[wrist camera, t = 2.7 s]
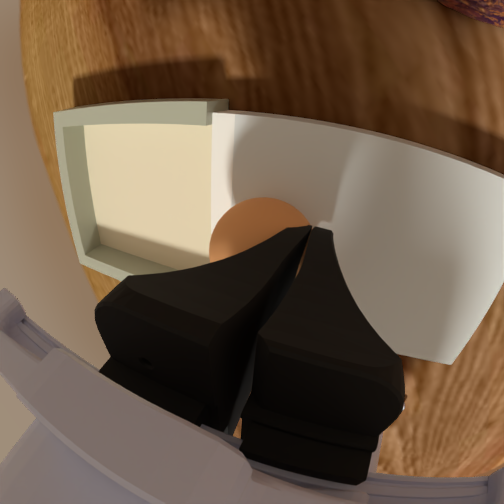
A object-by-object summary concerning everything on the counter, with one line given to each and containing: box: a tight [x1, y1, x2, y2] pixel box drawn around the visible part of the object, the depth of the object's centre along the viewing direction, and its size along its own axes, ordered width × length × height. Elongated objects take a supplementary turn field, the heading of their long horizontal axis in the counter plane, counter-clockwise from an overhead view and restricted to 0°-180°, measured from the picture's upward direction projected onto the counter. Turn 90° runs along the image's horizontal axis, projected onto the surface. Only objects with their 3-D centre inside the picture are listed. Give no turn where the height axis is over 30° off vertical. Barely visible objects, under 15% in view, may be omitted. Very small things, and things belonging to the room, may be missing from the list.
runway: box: [211, 110, 504, 365], centre depth 12 cm, size 10×14×2 cm
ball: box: [209, 197, 312, 276], centre depth 11 cm, size 4×4×4 cm
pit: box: [53, 98, 229, 281], centre depth 16 cm, size 11×11×2 cm
